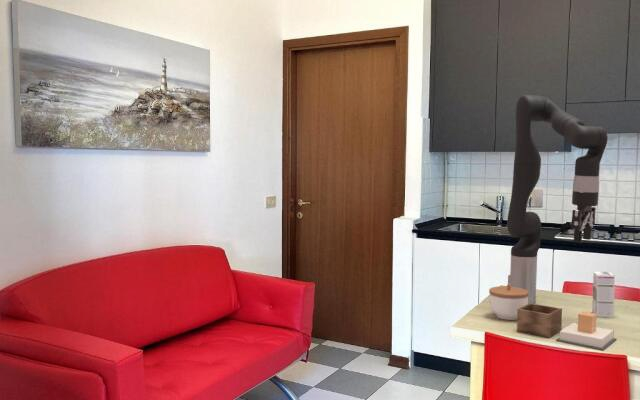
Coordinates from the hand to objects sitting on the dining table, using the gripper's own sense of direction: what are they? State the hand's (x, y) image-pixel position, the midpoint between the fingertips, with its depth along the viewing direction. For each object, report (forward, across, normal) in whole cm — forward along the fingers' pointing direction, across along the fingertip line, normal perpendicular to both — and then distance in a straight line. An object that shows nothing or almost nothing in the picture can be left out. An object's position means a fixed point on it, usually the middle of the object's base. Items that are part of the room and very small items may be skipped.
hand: (582, 241), depth 192 cm
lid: (+26, +16, +8) cm, 32 cm away
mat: (+27, +16, +8) cm, 32 cm away
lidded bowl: (+28, +7, -20) cm, 35 cm away
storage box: (+27, +16, -6) cm, 32 cm away
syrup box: (+28, -17, +3) cm, 33 cm away
